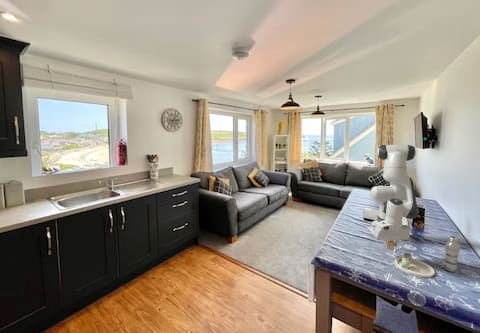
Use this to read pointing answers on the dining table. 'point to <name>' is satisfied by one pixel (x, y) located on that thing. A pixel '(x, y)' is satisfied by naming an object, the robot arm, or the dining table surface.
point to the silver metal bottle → (451, 254)
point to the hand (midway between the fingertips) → (390, 245)
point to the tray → (416, 268)
